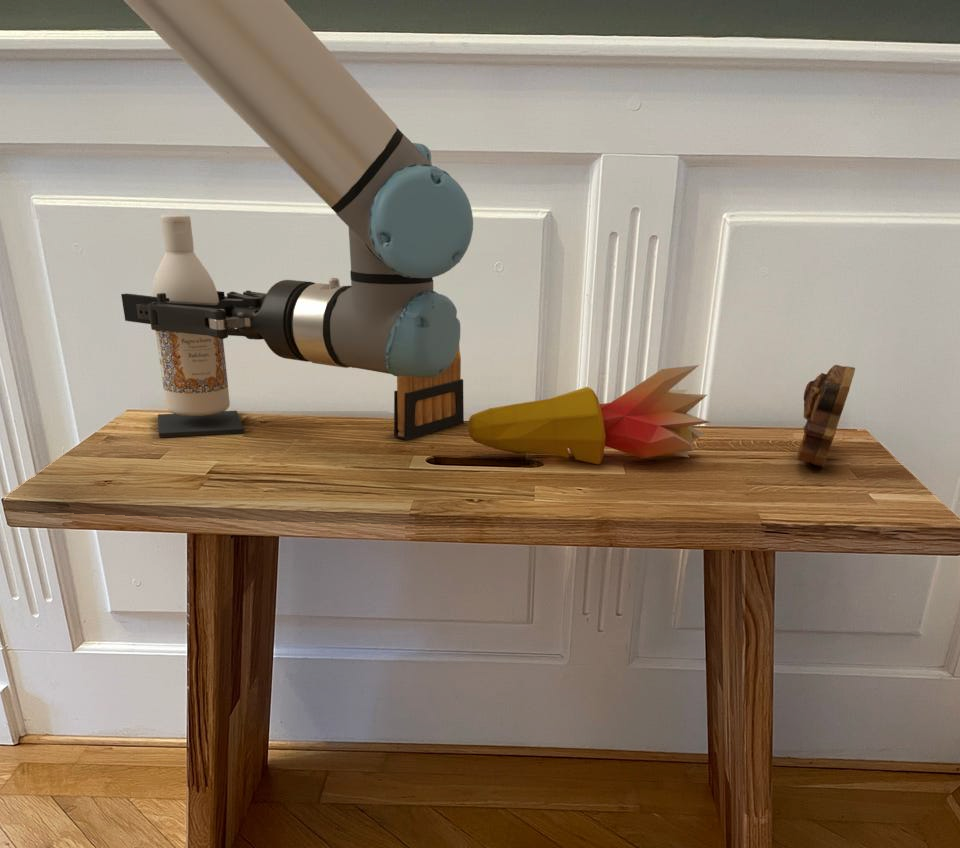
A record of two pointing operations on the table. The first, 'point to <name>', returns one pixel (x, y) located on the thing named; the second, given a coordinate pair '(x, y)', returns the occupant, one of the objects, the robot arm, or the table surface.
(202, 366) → the bath foam
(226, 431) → the mat
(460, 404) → the ammunition clip
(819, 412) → the wooden carving
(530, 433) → the torch
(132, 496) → the table surface
